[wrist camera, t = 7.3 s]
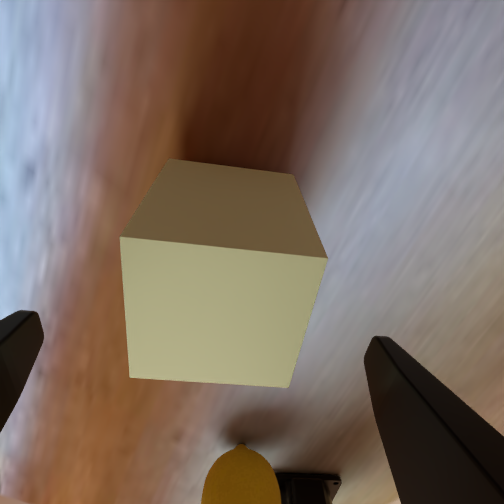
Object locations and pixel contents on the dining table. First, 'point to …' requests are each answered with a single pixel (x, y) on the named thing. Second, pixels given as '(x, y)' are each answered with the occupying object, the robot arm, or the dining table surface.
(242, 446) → the lemon
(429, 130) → the dining table surface
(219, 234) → the cream rectangular block
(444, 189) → the dining table surface
